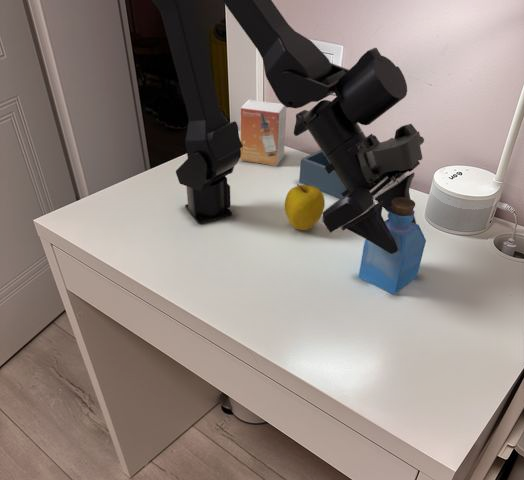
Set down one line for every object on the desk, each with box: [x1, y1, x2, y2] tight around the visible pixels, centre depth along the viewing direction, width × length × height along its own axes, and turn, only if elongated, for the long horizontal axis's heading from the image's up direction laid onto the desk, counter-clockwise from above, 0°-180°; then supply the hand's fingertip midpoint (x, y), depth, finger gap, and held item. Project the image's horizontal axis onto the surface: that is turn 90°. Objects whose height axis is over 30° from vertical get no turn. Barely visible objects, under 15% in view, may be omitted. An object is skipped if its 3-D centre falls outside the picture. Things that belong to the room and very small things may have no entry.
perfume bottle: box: [358, 197, 427, 296], centre depth 75 cm, size 6×6×12 cm
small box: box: [239, 99, 287, 167], centre depth 107 cm, size 8×6×10 cm
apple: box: [284, 183, 326, 231], centre depth 87 cm, size 6×6×8 cm
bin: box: [298, 149, 346, 200], centre depth 101 cm, size 11×11×5 cm
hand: (404, 241), depth 74 cm, fingers closed on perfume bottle, 6 cm apart
